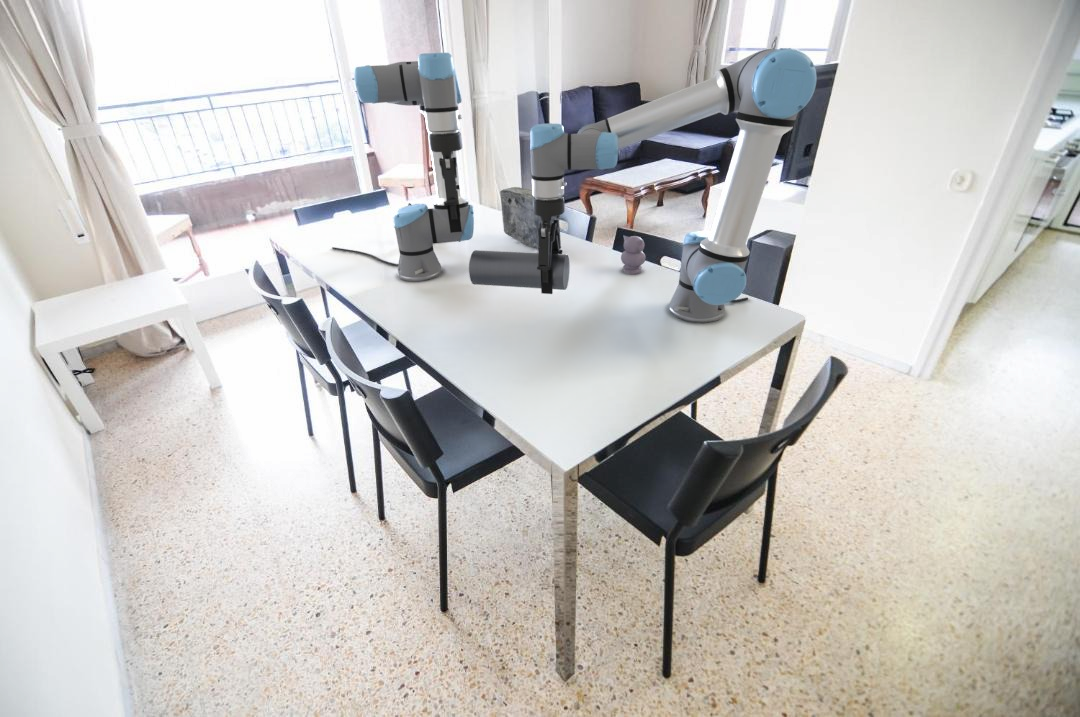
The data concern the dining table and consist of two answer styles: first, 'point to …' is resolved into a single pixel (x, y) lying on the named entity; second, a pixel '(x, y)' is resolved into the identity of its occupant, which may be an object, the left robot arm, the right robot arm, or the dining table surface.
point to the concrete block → (520, 215)
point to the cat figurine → (633, 254)
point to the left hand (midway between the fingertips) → (455, 223)
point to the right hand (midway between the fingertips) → (550, 285)
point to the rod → (516, 269)
